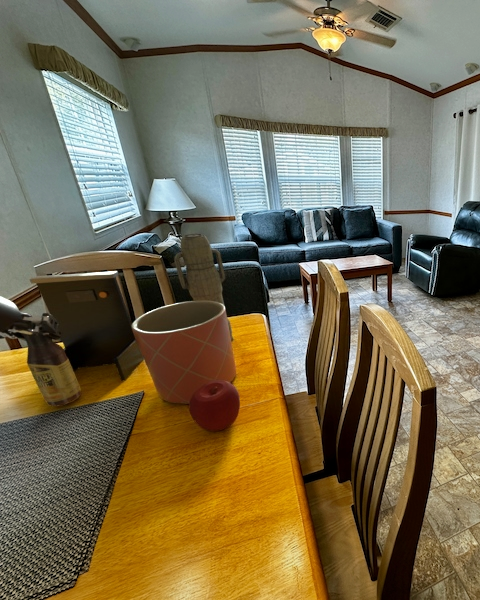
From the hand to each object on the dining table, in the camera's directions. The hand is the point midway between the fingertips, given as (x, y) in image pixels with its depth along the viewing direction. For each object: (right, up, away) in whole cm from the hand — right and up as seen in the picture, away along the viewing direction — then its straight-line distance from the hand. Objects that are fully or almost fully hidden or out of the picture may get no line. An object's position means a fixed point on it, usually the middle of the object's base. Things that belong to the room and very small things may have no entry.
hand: (46, 336), depth 75 cm
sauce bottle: (0, -16, +4) cm, 16 cm away
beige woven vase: (+21, -5, +33) cm, 39 cm away
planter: (+28, -14, +12) cm, 33 cm away
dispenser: (-3, -12, +16) cm, 20 cm away
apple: (+41, -19, -2) cm, 45 cm away
